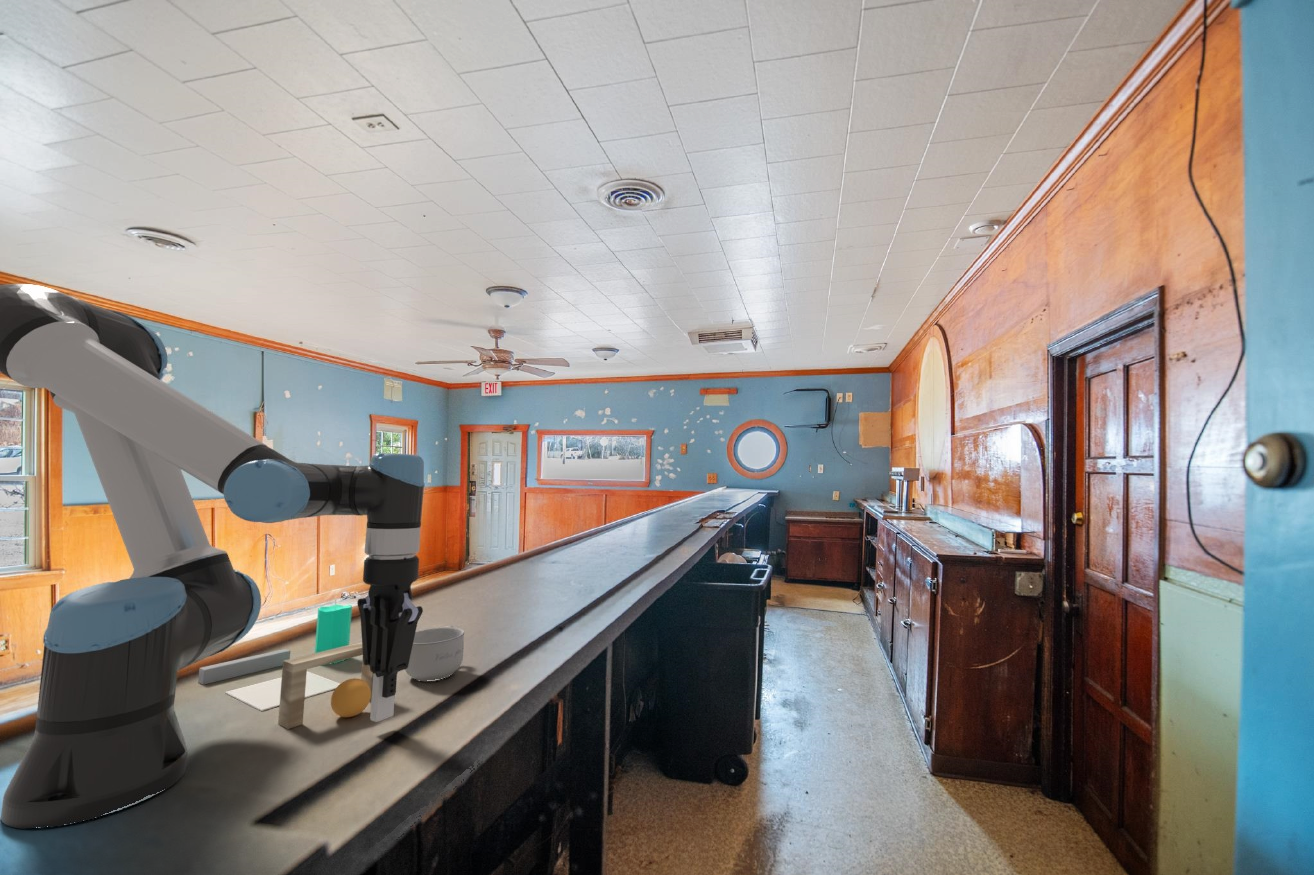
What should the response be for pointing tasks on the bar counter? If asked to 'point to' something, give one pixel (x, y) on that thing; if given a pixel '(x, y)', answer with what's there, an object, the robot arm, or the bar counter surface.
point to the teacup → (436, 653)
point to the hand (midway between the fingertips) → (381, 717)
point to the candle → (333, 627)
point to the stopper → (242, 666)
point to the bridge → (296, 680)
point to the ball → (350, 697)
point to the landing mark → (279, 691)
